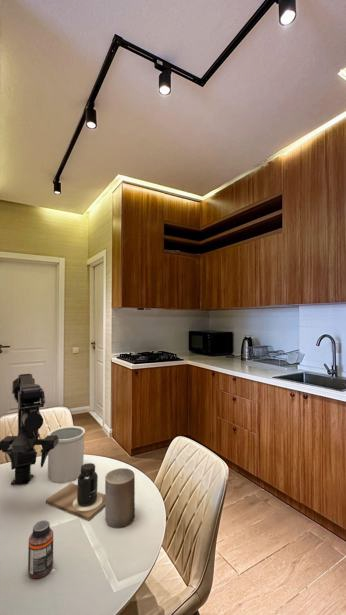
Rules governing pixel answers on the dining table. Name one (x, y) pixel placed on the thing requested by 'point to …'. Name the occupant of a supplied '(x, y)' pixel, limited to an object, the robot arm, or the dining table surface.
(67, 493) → the board
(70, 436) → the utensil holder
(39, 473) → the dining table surface
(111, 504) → the pillar candle
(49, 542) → the supplement bottle
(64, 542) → the dining table surface
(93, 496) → the supplement bottle
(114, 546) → the dining table surface
